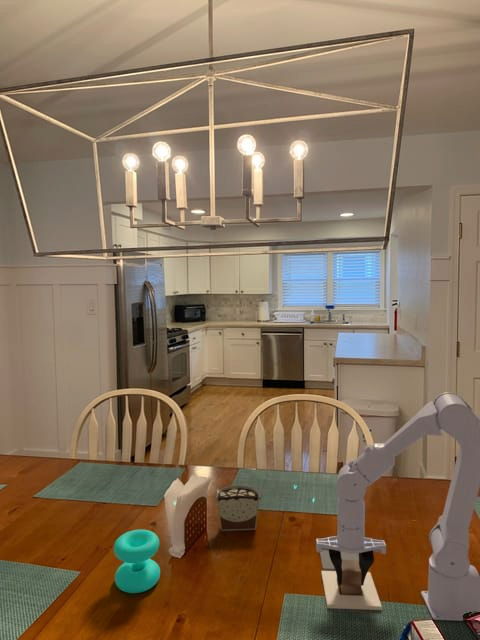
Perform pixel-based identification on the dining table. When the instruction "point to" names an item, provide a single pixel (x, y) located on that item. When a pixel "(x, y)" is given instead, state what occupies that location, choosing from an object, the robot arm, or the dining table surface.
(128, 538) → the turquoise spool
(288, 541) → the dining table surface
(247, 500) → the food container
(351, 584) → the block
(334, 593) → the pocket plate
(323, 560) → the mat
